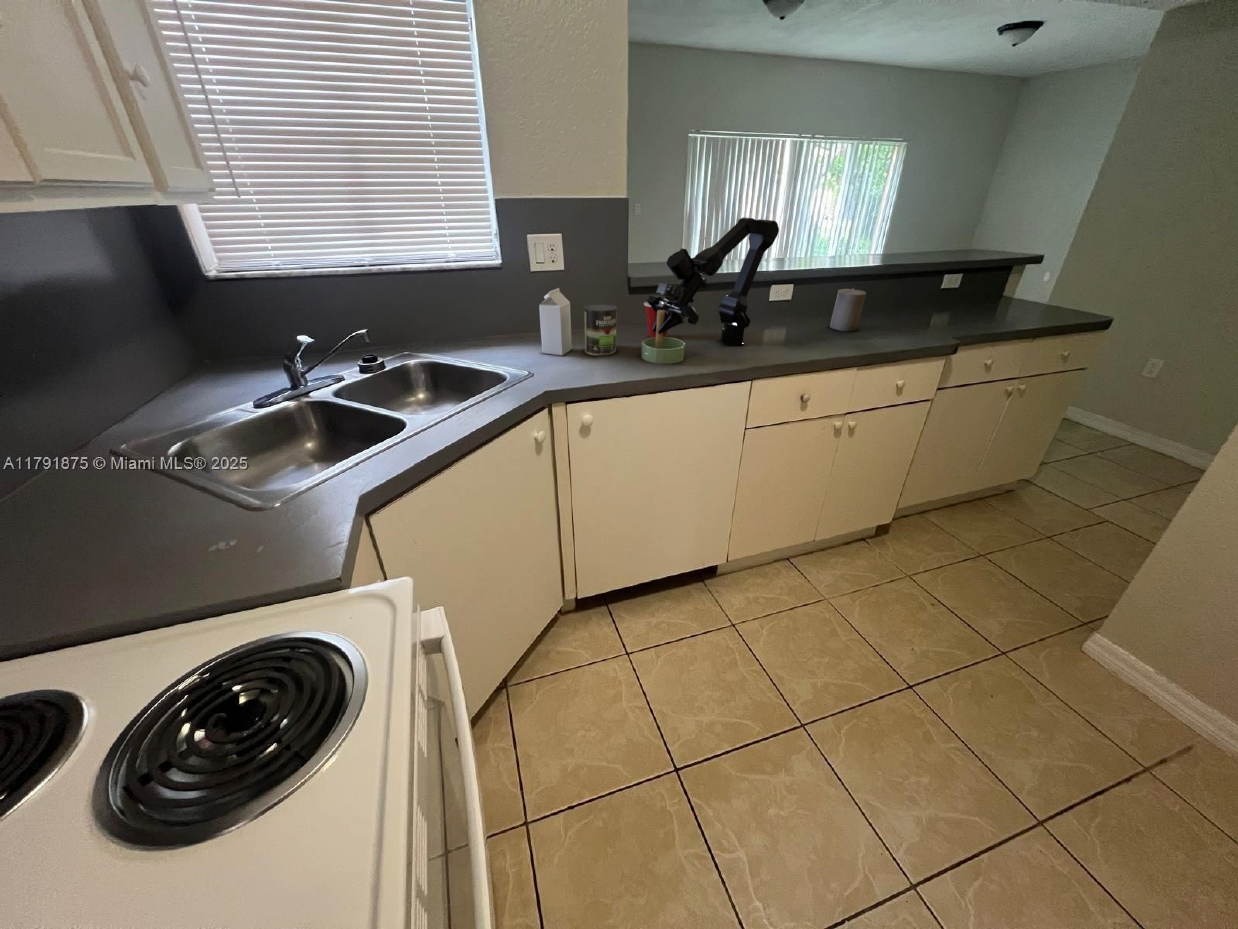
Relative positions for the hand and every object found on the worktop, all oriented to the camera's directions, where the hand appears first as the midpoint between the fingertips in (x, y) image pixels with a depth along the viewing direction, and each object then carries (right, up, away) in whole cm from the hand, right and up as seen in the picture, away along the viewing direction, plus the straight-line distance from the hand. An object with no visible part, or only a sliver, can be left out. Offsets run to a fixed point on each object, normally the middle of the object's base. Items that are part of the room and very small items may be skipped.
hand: (656, 332), depth 147 cm
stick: (+1, -6, +5) cm, 8 cm away
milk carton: (-31, -4, +9) cm, 33 cm away
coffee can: (-17, -4, +10) cm, 20 cm away
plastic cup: (+2, +5, +25) cm, 26 cm away
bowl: (+2, -7, +5) cm, 9 cm away
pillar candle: (+75, +12, +40) cm, 86 cm away
